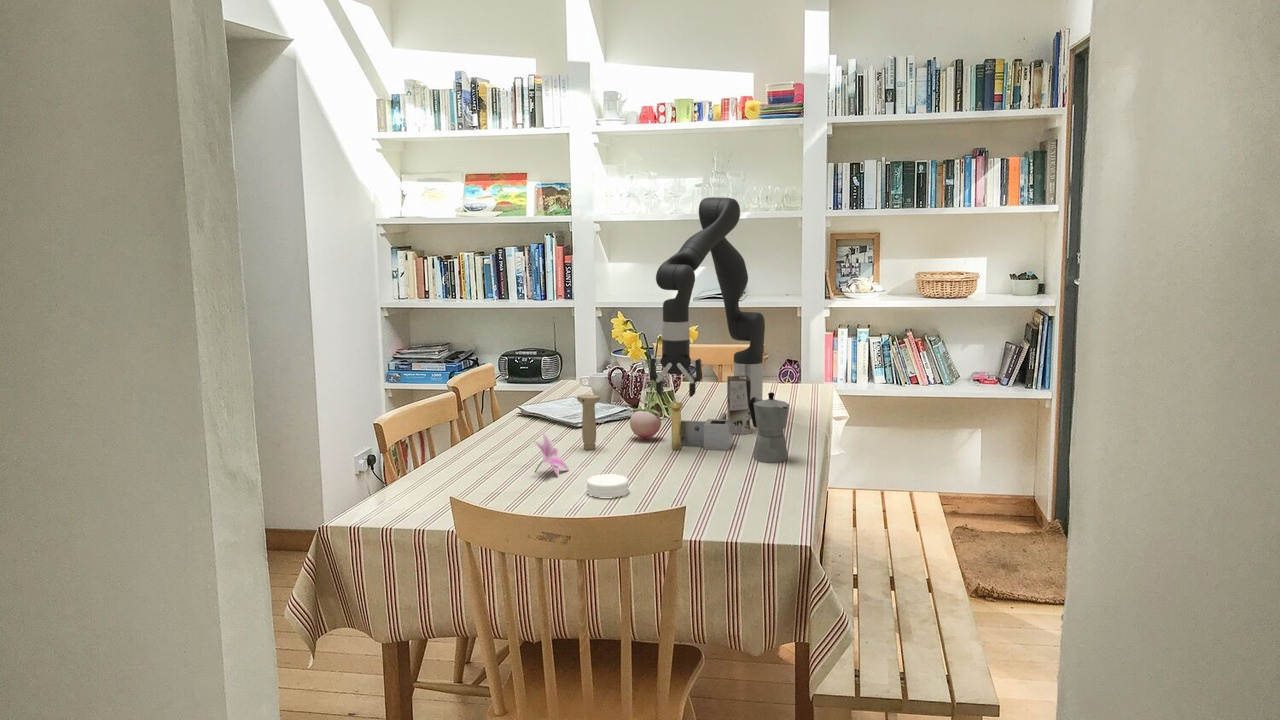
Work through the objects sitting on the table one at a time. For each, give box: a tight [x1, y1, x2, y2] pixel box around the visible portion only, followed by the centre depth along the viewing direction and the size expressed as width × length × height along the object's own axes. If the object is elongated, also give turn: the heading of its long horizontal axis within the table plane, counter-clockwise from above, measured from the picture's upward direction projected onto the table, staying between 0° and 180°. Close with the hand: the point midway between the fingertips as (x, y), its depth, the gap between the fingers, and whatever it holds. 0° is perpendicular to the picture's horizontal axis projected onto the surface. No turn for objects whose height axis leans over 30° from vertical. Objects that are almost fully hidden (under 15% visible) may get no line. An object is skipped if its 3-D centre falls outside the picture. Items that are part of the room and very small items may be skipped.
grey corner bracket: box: [681, 412, 734, 451], centre depth 277 cm, size 16×16×7 cm
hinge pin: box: [669, 401, 683, 451], centre depth 269 cm, size 4×4×13 cm
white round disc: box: [586, 473, 630, 497], centre depth 230 cm, size 10×10×4 cm
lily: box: [533, 431, 570, 477], centre depth 247 cm, size 12×12×10 cm
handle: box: [576, 393, 601, 451], centre depth 270 cm, size 5×6×15 cm
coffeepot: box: [749, 392, 790, 464], centre depth 258 cm, size 15×9×18 cm, turn 34°
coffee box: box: [726, 375, 751, 435], centre depth 289 cm, size 9×6×16 cm
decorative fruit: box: [629, 405, 662, 440], centre depth 280 cm, size 9×8×10 cm
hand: (676, 395), depth 267 cm, fingers open, 8 cm apart
